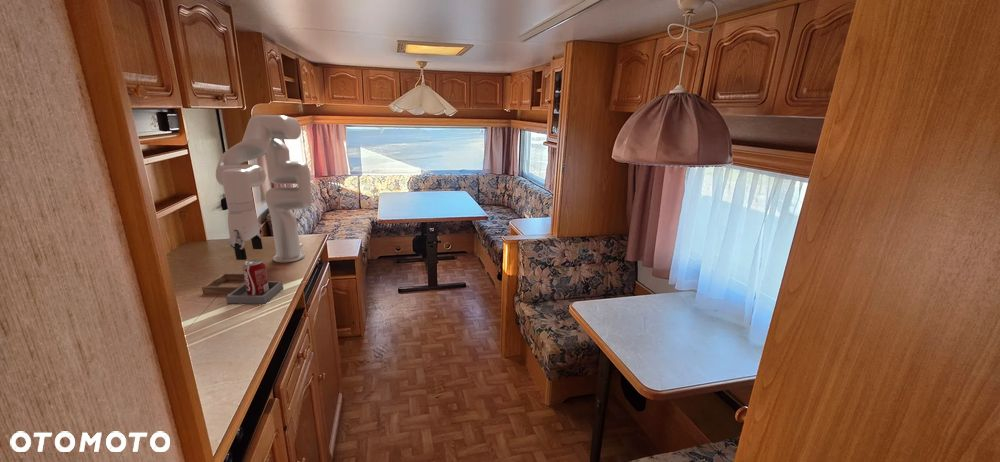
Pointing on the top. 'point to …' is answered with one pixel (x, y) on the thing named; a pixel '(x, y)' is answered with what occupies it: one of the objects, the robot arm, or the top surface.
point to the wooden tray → (212, 286)
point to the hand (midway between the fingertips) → (250, 254)
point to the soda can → (255, 277)
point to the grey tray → (243, 298)
